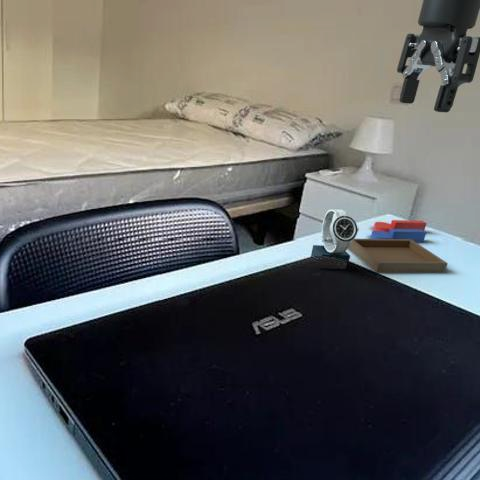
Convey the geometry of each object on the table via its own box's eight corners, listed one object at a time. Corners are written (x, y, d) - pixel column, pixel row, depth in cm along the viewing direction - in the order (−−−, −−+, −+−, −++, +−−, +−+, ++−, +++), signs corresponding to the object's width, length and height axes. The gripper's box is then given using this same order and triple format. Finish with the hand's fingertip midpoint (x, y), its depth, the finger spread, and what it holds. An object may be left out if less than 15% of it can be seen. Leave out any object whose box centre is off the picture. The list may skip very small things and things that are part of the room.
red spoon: (415, 228, 119) (418, 218, 118) (427, 235, 115) (430, 225, 114) (369, 227, 117) (372, 217, 116) (379, 235, 113) (382, 224, 112)
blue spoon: (414, 237, 114) (418, 226, 113) (427, 245, 110) (430, 234, 109) (366, 236, 112) (369, 226, 111) (377, 244, 108) (380, 233, 107)
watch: (323, 274, 92) (336, 218, 88) (306, 255, 99) (318, 203, 95) (351, 275, 93) (366, 219, 88) (333, 256, 100) (345, 204, 96)
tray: (408, 248, 107) (411, 239, 107) (444, 272, 97) (447, 263, 96) (346, 247, 105) (348, 238, 104) (376, 273, 94) (379, 263, 94)
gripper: (517, -9, 66) (477, 116, 72) (444, -5, 78) (415, 101, 85) (467, -14, 64) (431, 114, 71) (401, -9, 77) (375, 99, 83)
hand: (422, 107), depth 78 cm, fingers open, 8 cm apart
